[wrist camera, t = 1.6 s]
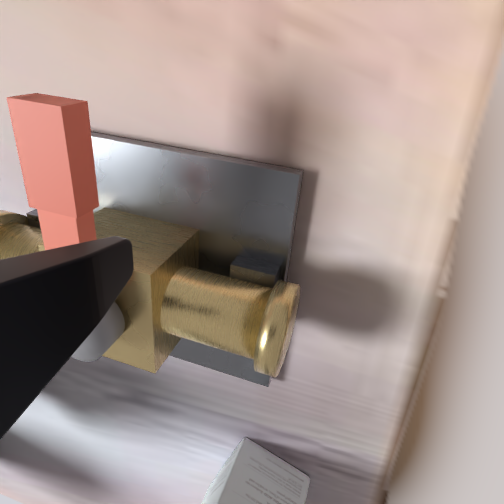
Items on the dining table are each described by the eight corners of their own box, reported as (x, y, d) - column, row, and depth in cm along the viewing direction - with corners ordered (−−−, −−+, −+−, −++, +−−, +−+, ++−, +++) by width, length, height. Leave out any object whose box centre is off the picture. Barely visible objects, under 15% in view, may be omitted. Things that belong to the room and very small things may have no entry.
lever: (127, 347, 20) (106, 370, 18) (73, 330, 21) (50, 350, 19) (104, 102, 14) (72, 108, 13) (30, 90, 15) (-7, 95, 14)
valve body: (323, 173, 19) (296, 220, 14) (286, 382, 26) (259, 462, 21) (17, 118, 23) (-86, 139, 18) (55, 310, 30) (-12, 362, 25)
